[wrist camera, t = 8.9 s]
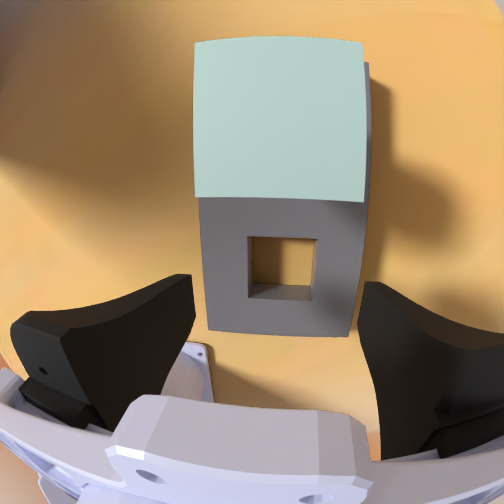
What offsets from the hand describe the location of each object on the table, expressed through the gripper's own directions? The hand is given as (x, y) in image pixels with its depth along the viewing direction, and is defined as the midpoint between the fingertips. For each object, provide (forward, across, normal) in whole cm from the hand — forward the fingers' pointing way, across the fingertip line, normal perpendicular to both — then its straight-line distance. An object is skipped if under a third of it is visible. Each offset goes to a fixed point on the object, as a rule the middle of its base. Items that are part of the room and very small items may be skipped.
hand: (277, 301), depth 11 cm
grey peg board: (+8, 0, -3) cm, 9 cm away
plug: (+3, 0, -7) cm, 8 cm away
